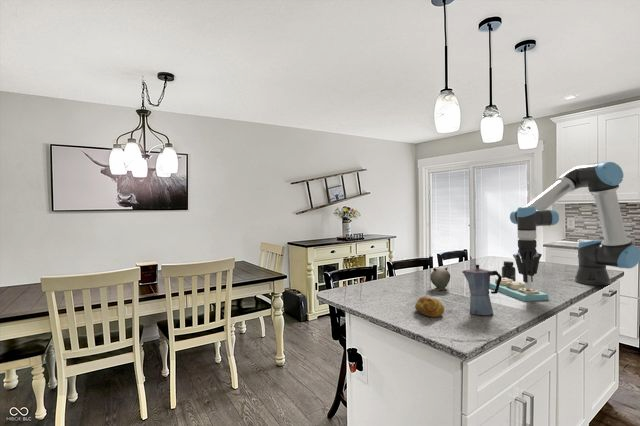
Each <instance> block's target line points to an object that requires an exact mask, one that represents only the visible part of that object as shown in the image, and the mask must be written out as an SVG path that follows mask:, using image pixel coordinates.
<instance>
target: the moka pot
mask: <svg viewBox="0 0 640 426" xmlns="http://www.w3.org/2000/svg"><path fill="white" fill-rule="evenodd" d="M474 265H475V268H472V269H465V270H463V271H461V273H463V276H464V277H465V279H466V281H467V283H468V288H469V293H470V296H469V297H470V298H469V300H470V301H469V313H470V314H472V315H477V316H489V315H493V314H494V311H493V307H492V302H491V296H490V294H492V295H494V294H495V295H496V294H498V292H499V291H498V289H499V285H500V283H501V280H502V274H500V273H499V272H498V271H497V270H488V269H484V268H483V269H482V268H480V264H474ZM491 276H493V277H494V276H497V278H498V280H497V284H496V289H495V290H494V291H490V289H491V288H490V282H491Z"/></svg>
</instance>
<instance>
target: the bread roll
mask: <svg viewBox="0 0 640 426" xmlns="http://www.w3.org/2000/svg"><path fill="white" fill-rule="evenodd" d="M414 308H415V310H416V311H417V312H418V313H419V314H421V315H423V316H424V317H429V318H438V317H441V316H442V315H444V313H445V306H444V305H443V303H442V302H441V301H440V299H438V298H437V299H436V298H431V297H429V296H427V295H426V296H421V297H419V298H418V299H417V300H416V303H415V305H414Z"/></svg>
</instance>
